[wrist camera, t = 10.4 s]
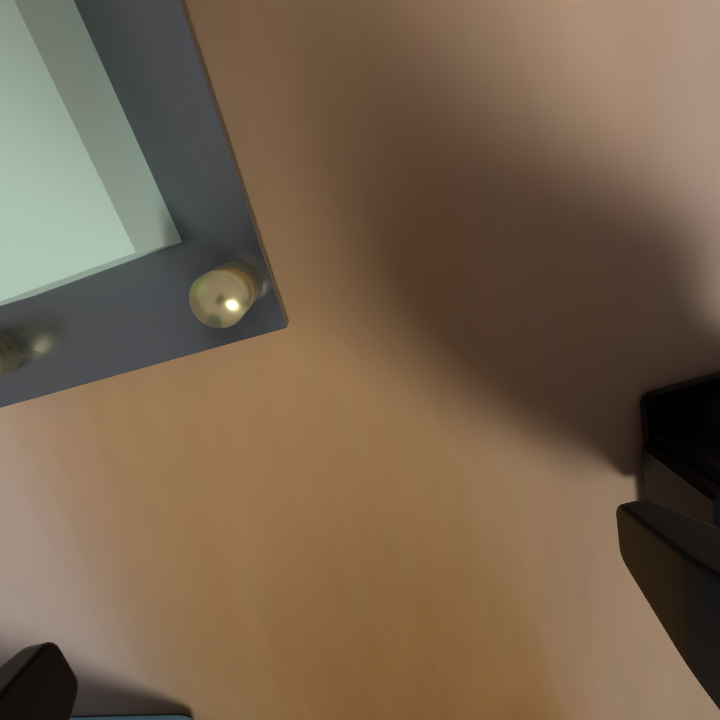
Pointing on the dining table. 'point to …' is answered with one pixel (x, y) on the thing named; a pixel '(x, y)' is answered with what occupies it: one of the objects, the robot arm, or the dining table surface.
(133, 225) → the pale green block
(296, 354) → the dining table surface
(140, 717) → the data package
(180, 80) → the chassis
